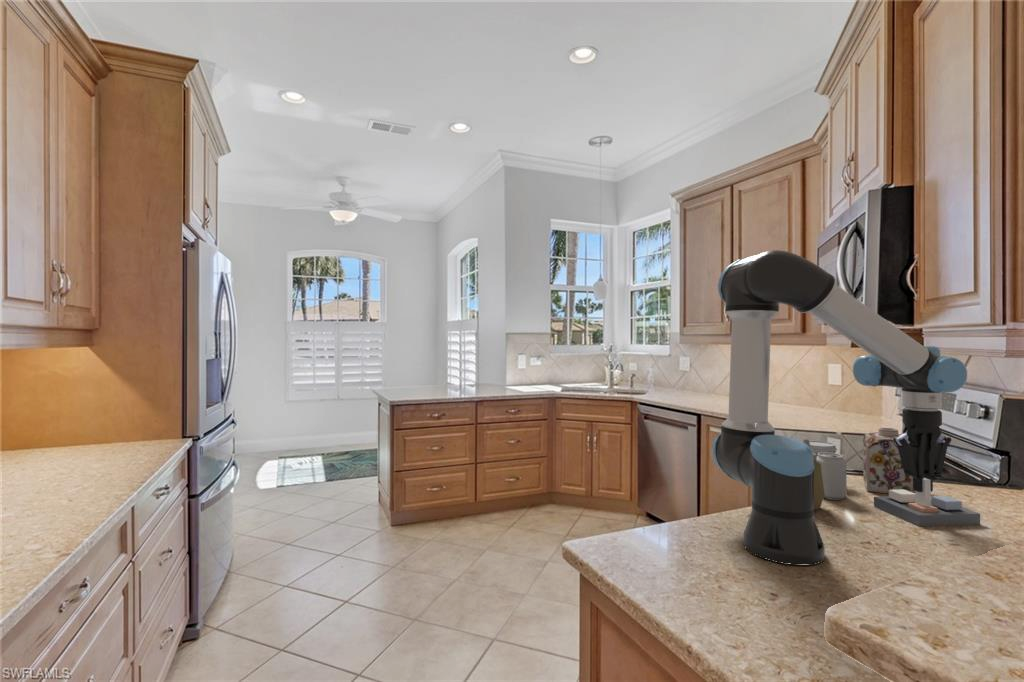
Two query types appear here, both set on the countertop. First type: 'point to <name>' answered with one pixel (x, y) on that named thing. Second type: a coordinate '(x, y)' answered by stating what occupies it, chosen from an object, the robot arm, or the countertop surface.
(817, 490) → the squeeze bottle
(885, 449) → the decorative jar
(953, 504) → the slate key
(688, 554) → the countertop surface
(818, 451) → the disposable coffee cup
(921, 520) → the keypad
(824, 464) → the can
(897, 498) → the cream key
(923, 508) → the terracotta key
